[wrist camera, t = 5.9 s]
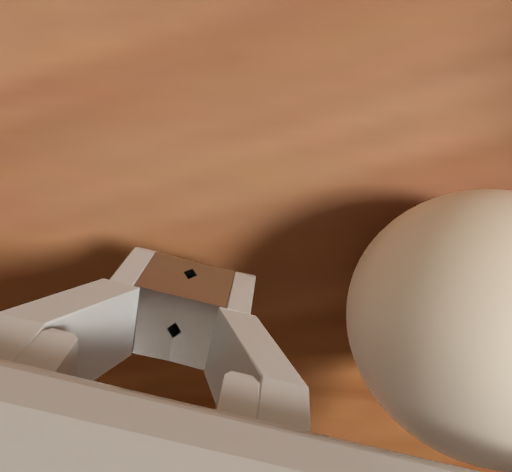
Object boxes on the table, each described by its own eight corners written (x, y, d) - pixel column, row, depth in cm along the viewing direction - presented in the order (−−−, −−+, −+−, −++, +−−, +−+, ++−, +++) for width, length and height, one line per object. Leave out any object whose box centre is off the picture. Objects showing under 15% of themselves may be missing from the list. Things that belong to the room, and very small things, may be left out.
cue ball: (289, 451, 8) (373, 371, 12) (700, 645, 5) (605, 441, 9) (320, 166, 7) (394, 194, 12) (783, 176, 4) (642, 208, 9)
